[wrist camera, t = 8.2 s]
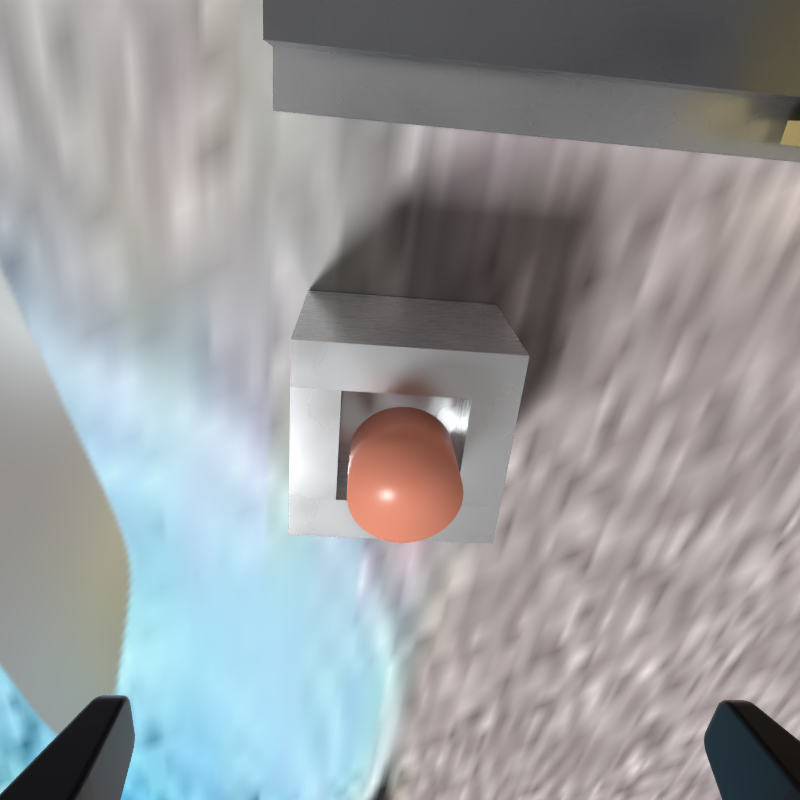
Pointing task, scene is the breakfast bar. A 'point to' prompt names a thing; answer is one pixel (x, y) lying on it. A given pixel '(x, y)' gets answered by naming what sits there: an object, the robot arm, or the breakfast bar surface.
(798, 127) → the carriage
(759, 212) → the breakfast bar surface
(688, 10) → the rail
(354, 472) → the button
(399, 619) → the breakfast bar surface
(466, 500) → the cabinet
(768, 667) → the breakfast bar surface
